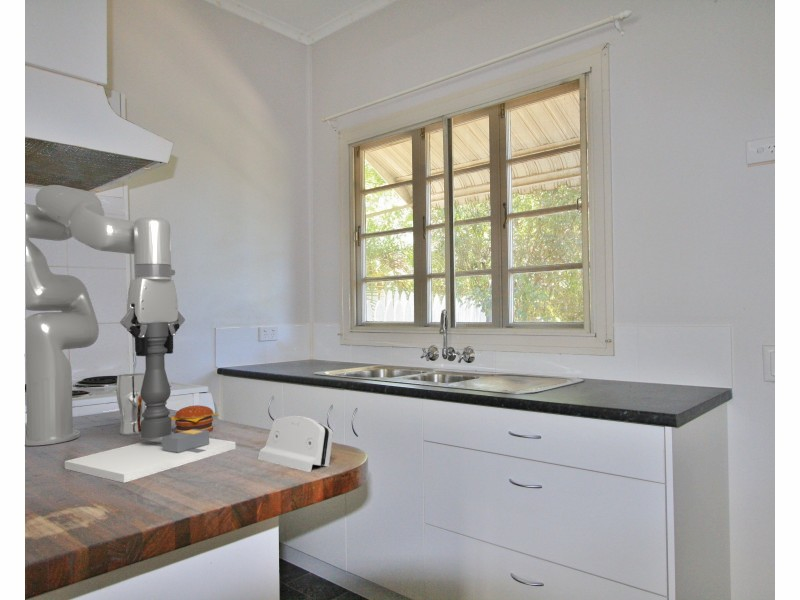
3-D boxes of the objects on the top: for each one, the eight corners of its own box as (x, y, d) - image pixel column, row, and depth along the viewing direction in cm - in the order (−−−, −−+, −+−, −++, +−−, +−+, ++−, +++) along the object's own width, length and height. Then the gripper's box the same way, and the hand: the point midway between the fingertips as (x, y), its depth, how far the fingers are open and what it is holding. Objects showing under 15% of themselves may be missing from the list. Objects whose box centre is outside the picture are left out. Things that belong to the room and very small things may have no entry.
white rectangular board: (64, 468, 108) (64, 460, 108) (177, 439, 130) (177, 433, 130) (124, 482, 98) (123, 473, 98) (235, 448, 120) (235, 441, 120)
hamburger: (166, 435, 136) (166, 408, 136) (192, 427, 145) (191, 402, 145) (197, 436, 133) (197, 409, 133) (221, 428, 142) (221, 403, 142)
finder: (162, 449, 114) (162, 435, 114) (194, 441, 121) (194, 428, 121) (177, 452, 111) (177, 438, 111) (209, 443, 118) (209, 430, 118)
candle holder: (165, 430, 124) (163, 322, 125) (176, 434, 120) (173, 321, 120) (136, 435, 120) (134, 323, 120) (147, 439, 115) (144, 323, 116)
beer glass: (135, 436, 135) (134, 376, 135) (111, 435, 137) (110, 376, 137) (153, 429, 142) (152, 372, 142) (130, 429, 143) (129, 373, 144)
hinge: (256, 458, 111) (268, 410, 114) (274, 461, 115) (286, 414, 117) (310, 472, 101) (322, 418, 103) (327, 475, 104) (339, 423, 107)
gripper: (175, 276, 130) (177, 351, 129) (105, 273, 115) (107, 357, 115) (196, 274, 126) (198, 351, 126) (126, 271, 111) (128, 358, 111)
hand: (154, 353), depth 120 cm, fingers closed on candle holder, 5 cm apart
